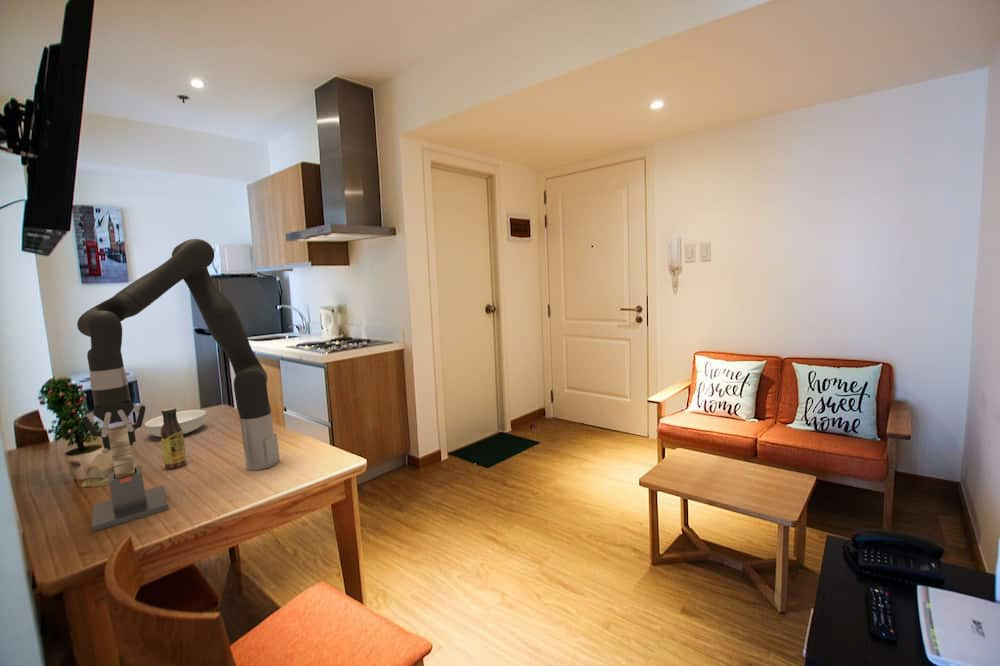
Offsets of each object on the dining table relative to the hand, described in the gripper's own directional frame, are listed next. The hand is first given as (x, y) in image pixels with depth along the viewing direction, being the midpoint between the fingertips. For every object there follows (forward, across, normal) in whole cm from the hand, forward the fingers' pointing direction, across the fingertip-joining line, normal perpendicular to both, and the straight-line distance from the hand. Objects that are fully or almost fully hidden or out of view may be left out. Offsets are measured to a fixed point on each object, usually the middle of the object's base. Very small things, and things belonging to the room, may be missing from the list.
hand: (120, 446), depth 128 cm
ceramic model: (+19, +5, -33) cm, 38 cm away
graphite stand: (+18, 0, 0) cm, 18 cm away
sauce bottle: (+18, -13, -28) cm, 36 cm away
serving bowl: (+19, -17, -71) cm, 75 cm away
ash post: (+11, 0, 0) cm, 11 cm away
